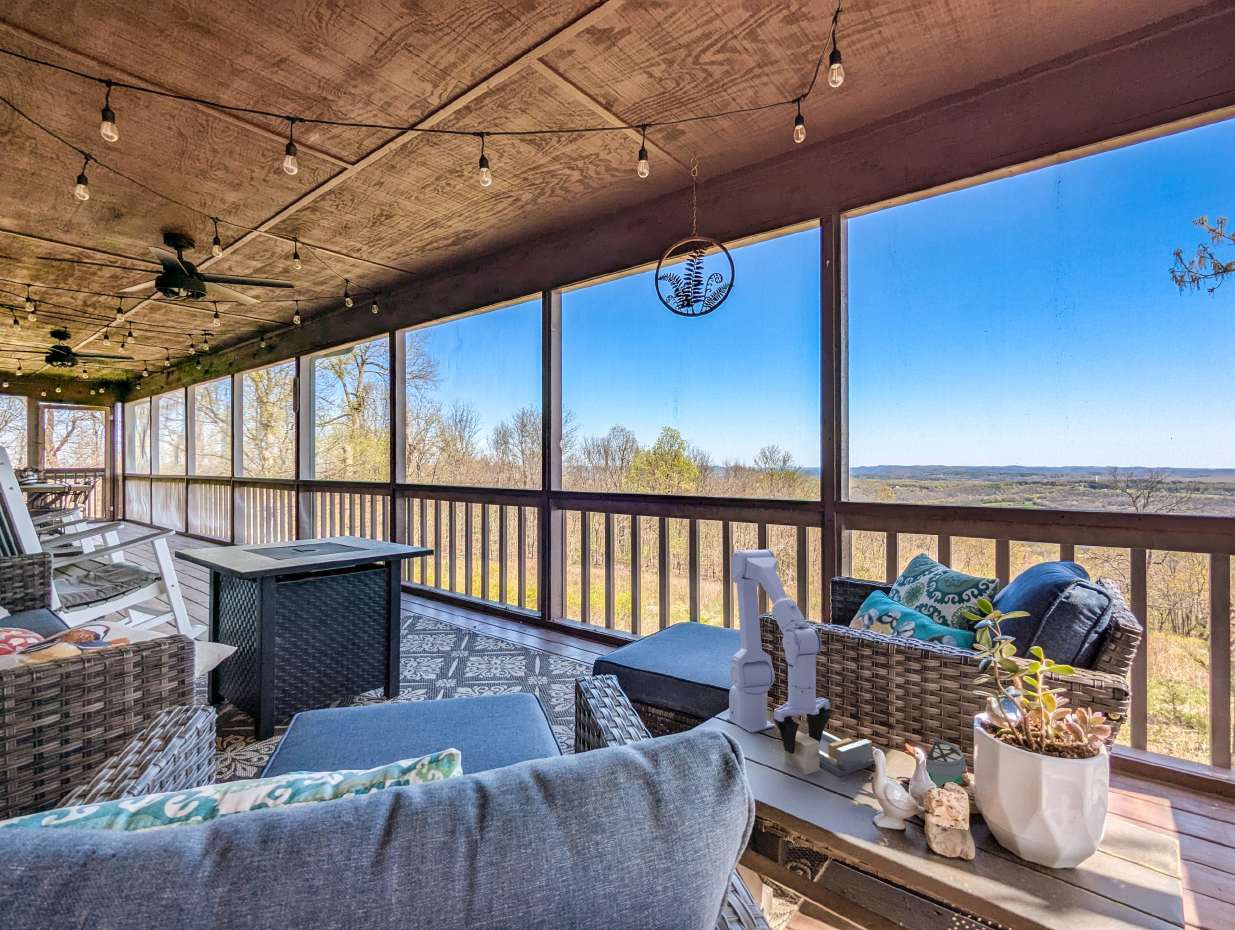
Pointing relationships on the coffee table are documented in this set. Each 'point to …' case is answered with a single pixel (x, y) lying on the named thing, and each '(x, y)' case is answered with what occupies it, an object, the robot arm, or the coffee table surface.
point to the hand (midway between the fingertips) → (802, 747)
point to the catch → (838, 746)
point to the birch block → (804, 754)
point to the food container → (945, 763)
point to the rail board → (845, 755)
